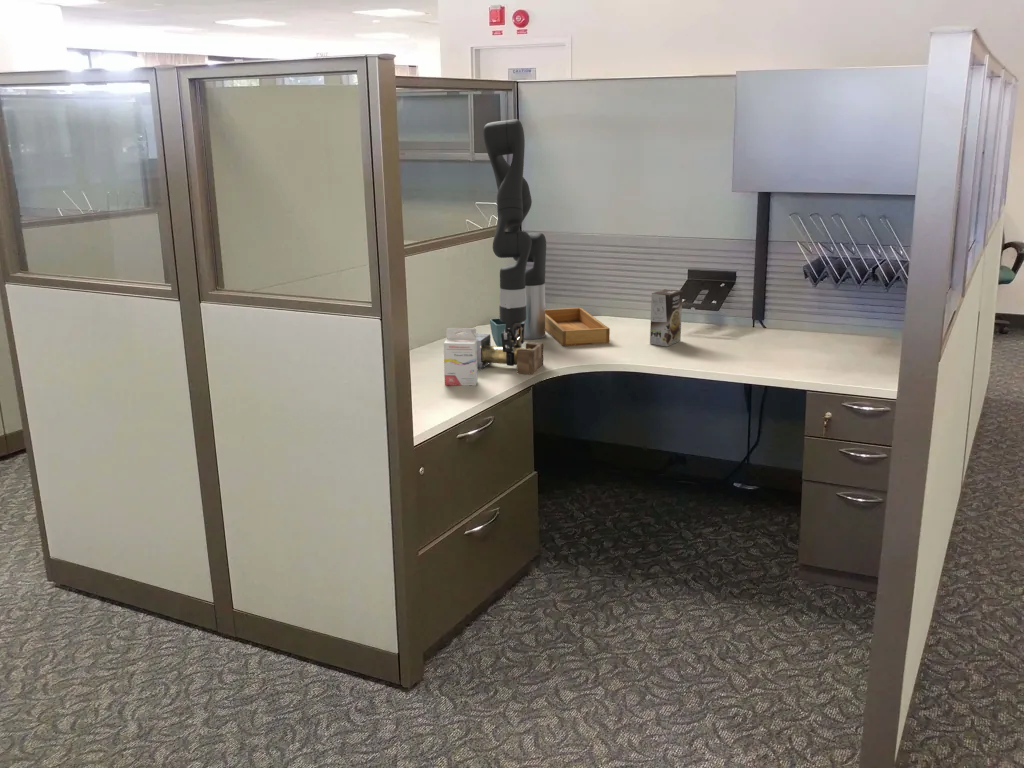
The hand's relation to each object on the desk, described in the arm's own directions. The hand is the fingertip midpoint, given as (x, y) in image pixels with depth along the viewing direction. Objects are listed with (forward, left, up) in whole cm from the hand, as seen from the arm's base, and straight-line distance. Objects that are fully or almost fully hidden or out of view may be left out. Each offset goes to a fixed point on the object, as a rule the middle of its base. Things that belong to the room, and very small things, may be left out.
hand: (513, 362), depth 259 cm
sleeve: (0, -12, -2) cm, 12 cm away
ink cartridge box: (+18, -9, -2) cm, 20 cm away
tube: (0, -2, -2) cm, 3 cm away
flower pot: (-20, -9, -2) cm, 22 cm away
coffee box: (-41, +36, -2) cm, 55 cm away
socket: (0, +5, -2) cm, 5 cm away
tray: (-45, +5, -2) cm, 45 cm away
